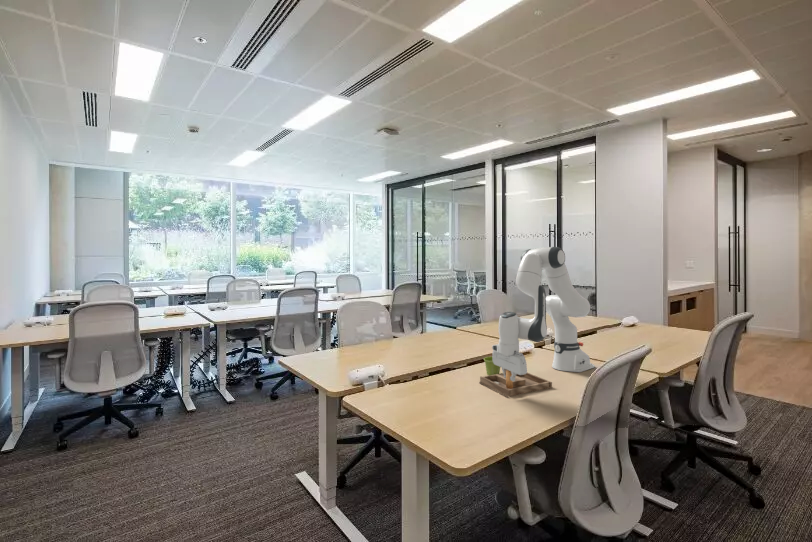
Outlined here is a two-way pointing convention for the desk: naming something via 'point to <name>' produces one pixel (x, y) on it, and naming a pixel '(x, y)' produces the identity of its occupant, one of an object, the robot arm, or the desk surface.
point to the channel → (515, 384)
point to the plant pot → (491, 366)
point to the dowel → (508, 380)
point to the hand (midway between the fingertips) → (509, 379)
